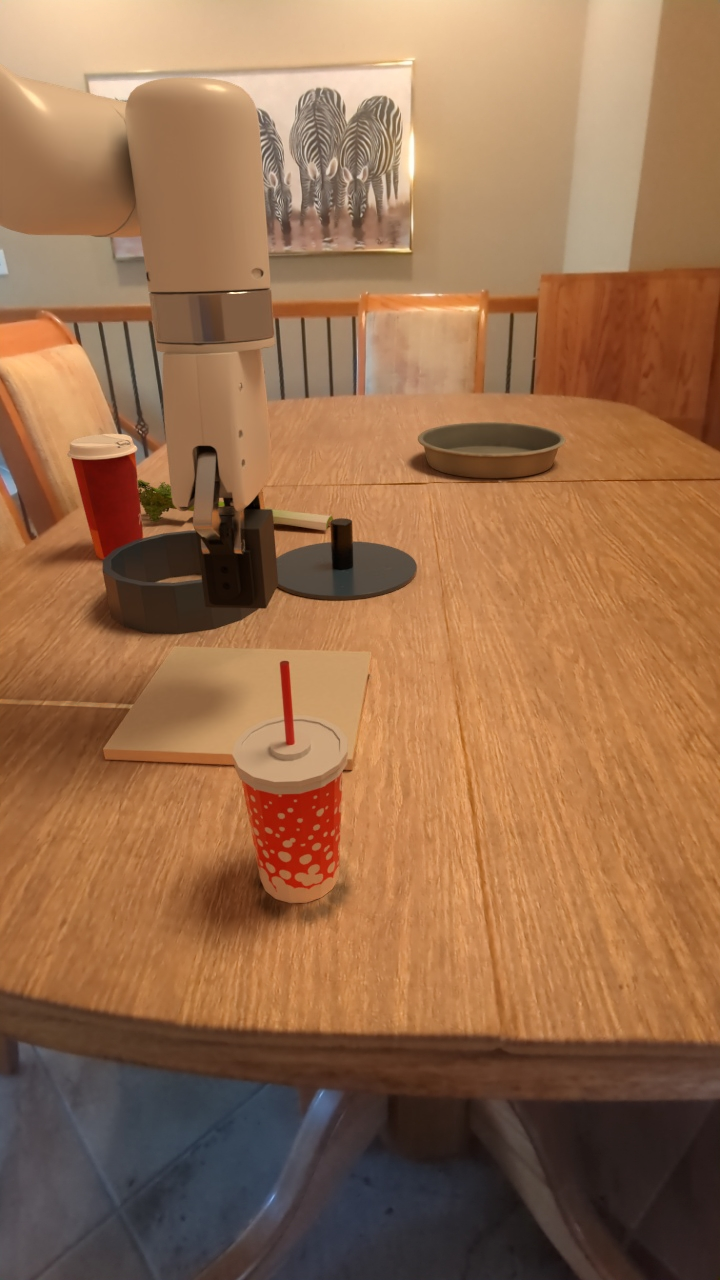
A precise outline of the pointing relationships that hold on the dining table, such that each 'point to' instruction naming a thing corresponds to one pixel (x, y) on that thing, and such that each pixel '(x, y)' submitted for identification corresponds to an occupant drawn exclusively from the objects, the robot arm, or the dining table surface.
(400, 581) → the lid
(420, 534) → the dining table surface
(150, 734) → the board
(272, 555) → the block
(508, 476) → the cake pan
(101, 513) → the paper cup
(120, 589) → the pot
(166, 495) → the celery stalk
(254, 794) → the beverage cup
